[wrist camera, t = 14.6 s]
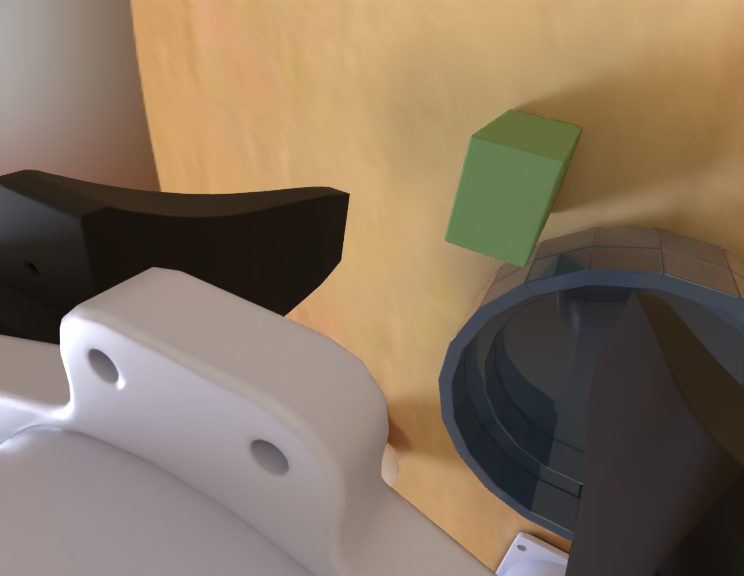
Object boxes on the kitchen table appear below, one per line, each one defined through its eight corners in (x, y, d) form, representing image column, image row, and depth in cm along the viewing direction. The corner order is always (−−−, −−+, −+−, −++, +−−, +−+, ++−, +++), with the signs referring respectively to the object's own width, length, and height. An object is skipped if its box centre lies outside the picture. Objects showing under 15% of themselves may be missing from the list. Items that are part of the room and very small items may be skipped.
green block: (549, 215, 20) (524, 269, 15) (483, 195, 20) (443, 241, 16) (583, 126, 18) (565, 160, 13) (509, 108, 19) (470, 135, 14)
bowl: (697, 520, 23) (709, 611, 19) (442, 404, 27) (412, 462, 23) (905, 296, 16) (983, 375, 12) (514, 181, 20) (488, 216, 16)
